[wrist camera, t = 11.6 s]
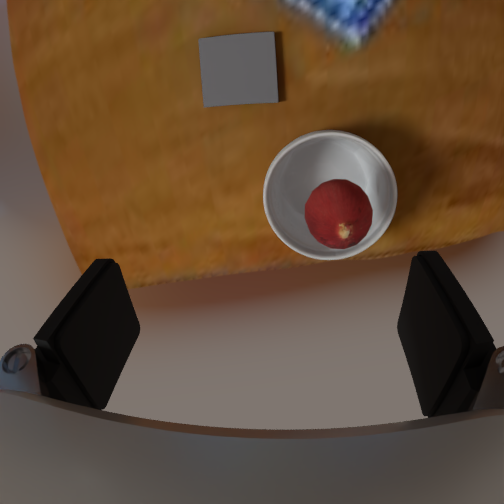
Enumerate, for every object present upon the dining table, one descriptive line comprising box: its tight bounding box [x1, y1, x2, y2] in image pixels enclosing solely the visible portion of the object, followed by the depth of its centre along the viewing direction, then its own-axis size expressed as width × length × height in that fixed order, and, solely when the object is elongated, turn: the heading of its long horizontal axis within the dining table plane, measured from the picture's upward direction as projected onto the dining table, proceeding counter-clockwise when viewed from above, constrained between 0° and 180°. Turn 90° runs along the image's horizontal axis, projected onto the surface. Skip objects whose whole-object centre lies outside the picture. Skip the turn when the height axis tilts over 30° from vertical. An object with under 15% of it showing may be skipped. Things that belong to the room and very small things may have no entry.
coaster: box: [199, 32, 278, 107], centre depth 31 cm, size 8×8×1 cm
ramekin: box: [263, 130, 397, 260], centre depth 33 cm, size 13×13×7 cm
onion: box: [304, 179, 373, 249], centre depth 26 cm, size 6×6×8 cm
